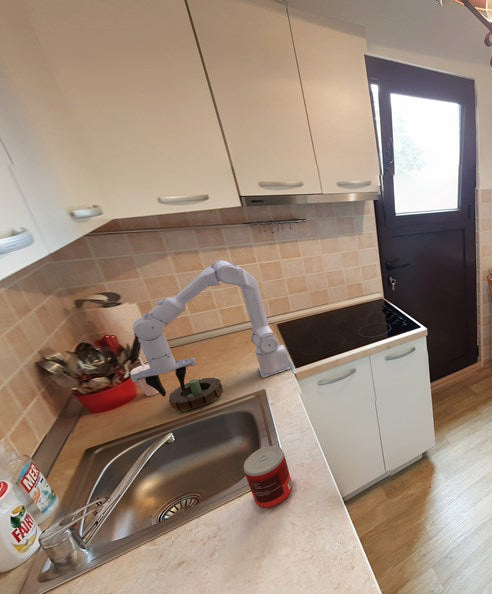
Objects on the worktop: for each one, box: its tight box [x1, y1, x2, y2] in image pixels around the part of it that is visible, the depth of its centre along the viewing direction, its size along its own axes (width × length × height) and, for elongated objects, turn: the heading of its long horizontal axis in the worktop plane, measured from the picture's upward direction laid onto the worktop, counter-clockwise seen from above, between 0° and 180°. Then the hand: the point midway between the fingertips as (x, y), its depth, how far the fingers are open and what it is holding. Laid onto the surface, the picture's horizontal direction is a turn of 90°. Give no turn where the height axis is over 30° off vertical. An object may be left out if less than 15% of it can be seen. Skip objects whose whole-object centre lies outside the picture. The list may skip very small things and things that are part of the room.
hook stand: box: [181, 378, 218, 413], centre depth 108 cm, size 9×9×7 cm
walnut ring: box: [168, 377, 224, 411], centre depth 109 cm, size 13×13×3 cm
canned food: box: [243, 445, 293, 510], centre depth 75 cm, size 8×8×11 cm
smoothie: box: [129, 356, 160, 397], centre depth 111 cm, size 6×6×14 cm
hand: (174, 391), depth 105 cm, fingers open, 4 cm apart
